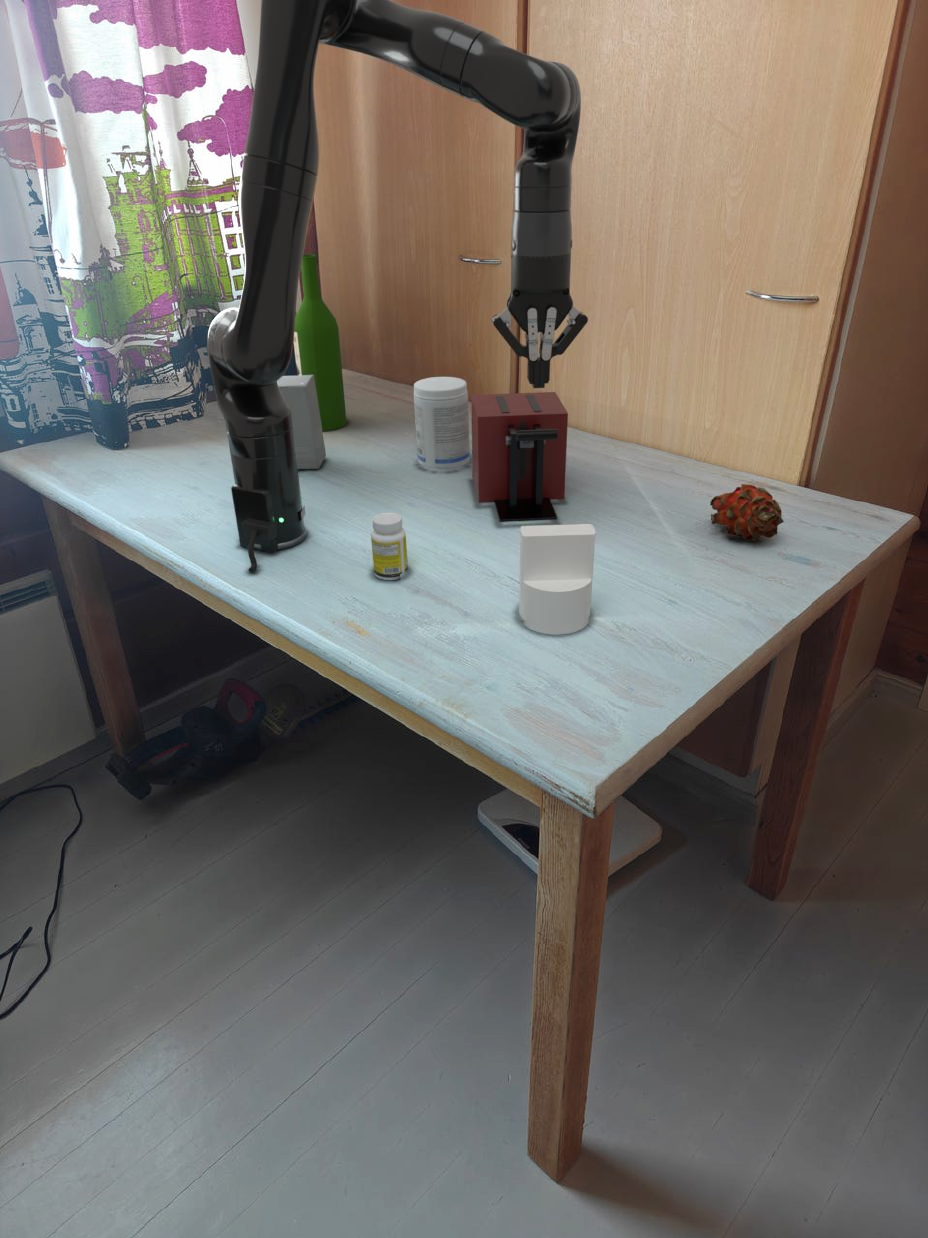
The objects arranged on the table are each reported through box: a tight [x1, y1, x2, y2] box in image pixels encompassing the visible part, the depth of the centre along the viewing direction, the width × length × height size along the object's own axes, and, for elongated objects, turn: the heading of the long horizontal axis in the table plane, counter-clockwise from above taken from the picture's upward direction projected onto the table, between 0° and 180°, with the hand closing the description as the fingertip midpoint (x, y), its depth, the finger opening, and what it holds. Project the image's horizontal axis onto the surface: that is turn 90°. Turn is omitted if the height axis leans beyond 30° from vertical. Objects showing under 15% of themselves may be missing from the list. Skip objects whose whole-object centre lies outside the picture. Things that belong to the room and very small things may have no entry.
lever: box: [516, 429, 558, 449], centre depth 128 cm, size 14×6×2 cm, turn 4°
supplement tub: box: [413, 376, 471, 469], centre depth 156 cm, size 10×10×15 cm
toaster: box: [470, 391, 569, 504], centre depth 144 cm, size 12×14×15 cm
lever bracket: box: [493, 424, 558, 523], centre depth 136 cm, size 10×9×14 cm
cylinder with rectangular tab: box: [518, 523, 596, 636], centre depth 108 cm, size 9×9×12 cm
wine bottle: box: [293, 254, 347, 432], centre depth 173 cm, size 9×9×32 cm
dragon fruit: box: [707, 483, 785, 542], centre depth 130 cm, size 8×8×12 cm
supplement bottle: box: [370, 512, 409, 581], centre depth 120 cm, size 5×5×8 cm
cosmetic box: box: [277, 375, 327, 470], centre depth 157 cm, size 8×7×16 cm
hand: (537, 386), depth 119 cm, fingers closed
